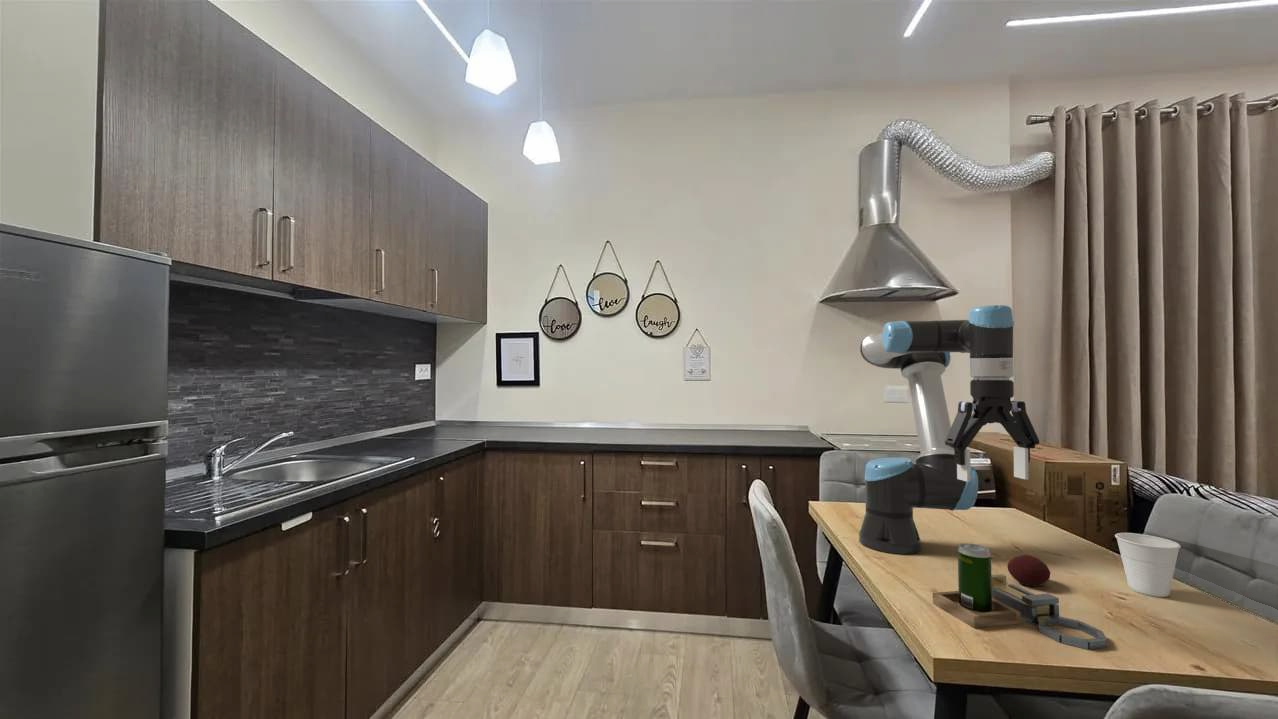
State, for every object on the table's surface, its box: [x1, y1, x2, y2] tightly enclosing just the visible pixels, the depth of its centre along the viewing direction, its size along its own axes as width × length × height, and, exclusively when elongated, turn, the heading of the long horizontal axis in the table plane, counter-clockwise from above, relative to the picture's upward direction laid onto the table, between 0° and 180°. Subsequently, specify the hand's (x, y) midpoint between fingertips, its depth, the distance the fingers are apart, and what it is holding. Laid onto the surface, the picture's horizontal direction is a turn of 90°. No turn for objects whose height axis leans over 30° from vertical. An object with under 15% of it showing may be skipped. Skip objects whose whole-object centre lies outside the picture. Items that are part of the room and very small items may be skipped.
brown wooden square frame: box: [932, 590, 1022, 629], centre depth 96 cm, size 10×10×2 cm
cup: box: [1114, 532, 1182, 598], centre depth 106 cm, size 10×10×11 cm
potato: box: [1006, 554, 1051, 587], centre depth 110 cm, size 8×9×6 cm
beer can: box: [957, 542, 992, 614], centre depth 96 cm, size 5×5×12 cm
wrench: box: [992, 583, 1108, 651], centre depth 93 cm, size 18×9×4 cm, turn 10°
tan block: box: [991, 573, 1050, 621], centre depth 98 cm, size 11×5×4 cm, turn 10°
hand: (992, 479), depth 104 cm, fingers open, 13 cm apart
